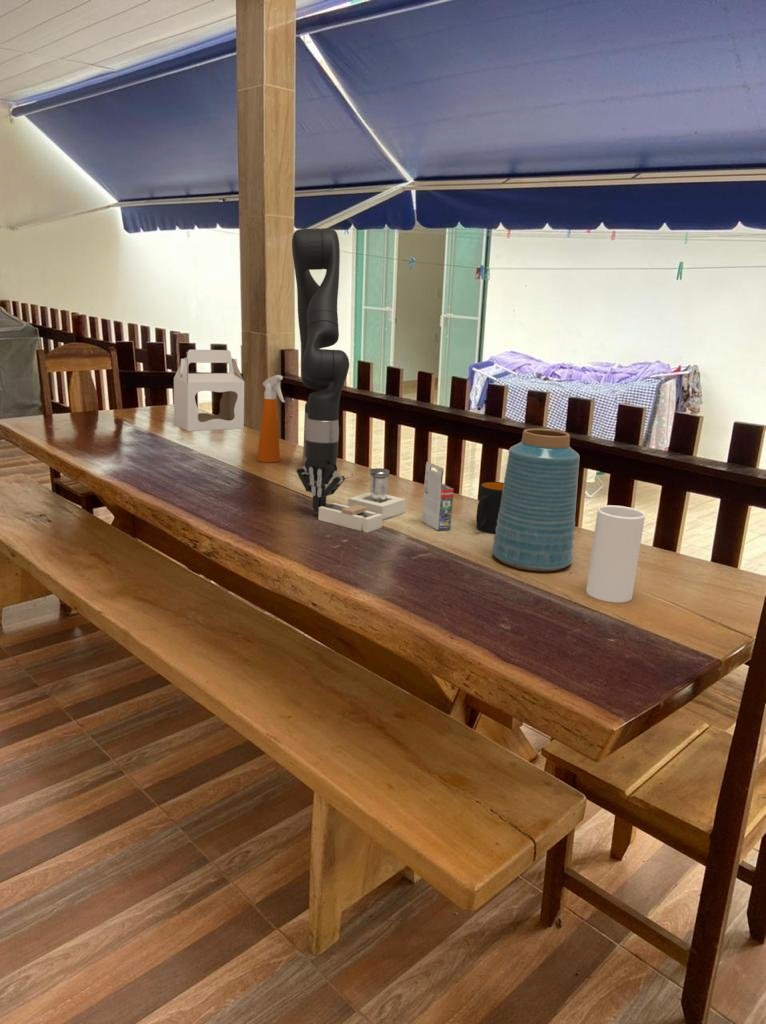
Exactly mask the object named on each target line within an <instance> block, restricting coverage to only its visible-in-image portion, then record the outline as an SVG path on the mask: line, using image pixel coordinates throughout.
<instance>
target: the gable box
mask: <svg viewBox="0 0 766 1024" xmlns="http://www.w3.org/2000/svg"><path fill="white" fill-rule="evenodd" d="M185 353H186V357H184V358H180V363H179V367H178V369H177V370H176V373H175V375H174V377H173V424H174V426H175V427H178V428H180V429H182V430H184V431H186V432H200V431H201V432H202V431H224V430H244V429H245V425H244V424H245V380H244V378H243V376H242V373H241V372H240V369H239V367H238V358H233V357H232V353H231V350H229V349H188V350H187V351H186V352H185ZM193 363H195V364H199V363H201V364H202V363H203V364H208V363H211V364H217V363H218V364H219V363H221V364H228V366H229V367H228V368H229V369H228V370H229V373H227V372H226V373H216V372H215V373H189V365H190V364H193ZM200 392H214V393H222V395H221V398H220V400H219V413H218V414H211V413H205V412H202V413H201V412H200V413H199V407H198V405H197V403H196V395H197V393H200Z"/></svg>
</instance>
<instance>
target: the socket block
mask: <svg viewBox="0 0 766 1024" xmlns="http://www.w3.org/2000/svg"><path fill="white" fill-rule="evenodd" d="M406 502H407V499H406V498H402V497H397V496H393V495H389V494H387V501H386V502H382V503H378V502H373V501H370V491H369V492H366V493H361V494H359V495H356V496H352V497H349V498H347V506H353V505H361V506H365V507H367V511H370V512H374V513H376V514H382V515H383V519H382V522H384V521H386V520H389V519H393V518H395V517H397V516H400V515H403V514H406V505H407V504H406Z"/></svg>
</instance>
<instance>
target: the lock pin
mask: <svg viewBox="0 0 766 1024" xmlns="http://www.w3.org/2000/svg"><path fill="white" fill-rule="evenodd" d="M331 504H332V503H329V504H326V505H325V506H323V507H327V508H331V509H335V510H339V511H342V509H343V508H339V507H335V506H333V505H331ZM356 515H359V516H363V517H365V518H366V515H367V514H363V513H359V514H356Z"/></svg>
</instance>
